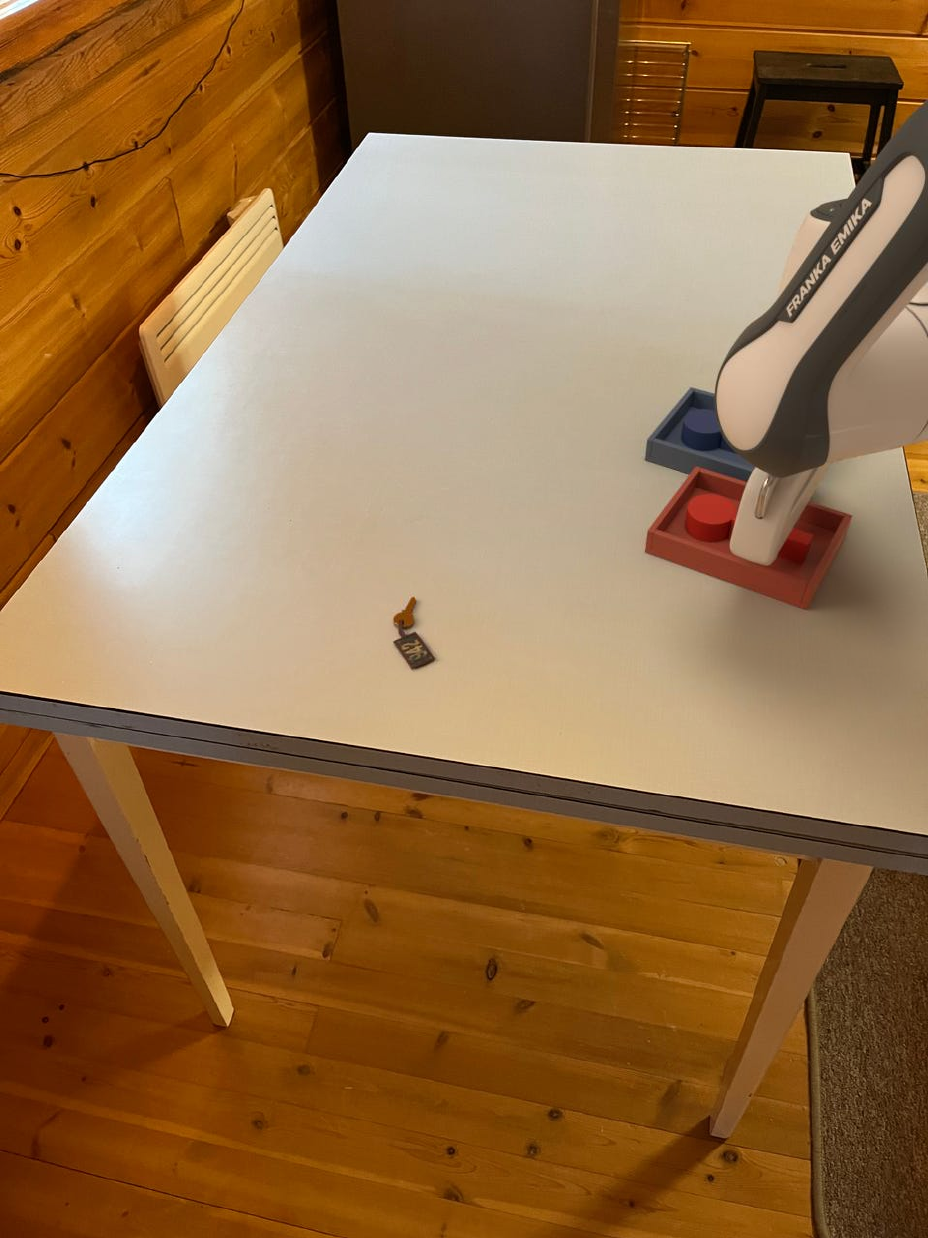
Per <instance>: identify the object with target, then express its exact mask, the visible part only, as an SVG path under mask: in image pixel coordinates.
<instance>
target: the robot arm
mask: <svg viewBox="0 0 928 1238" xmlns="http://www.w3.org/2000/svg"><path fill="white" fill-rule="evenodd" d="M714 394H715V397H714V403H715V413H716V419H717V423H718V426H719V429H720V432H721V434H722V436H723V438H724V440H725V441H726V443H727V444H728V445H729V446H730V447H731V448H732V449H733V450H734V451H735V452H736V453H737V454H738V455H739V456H741V457H742V458H743V459H744V460H746V461H747V462H749V463H750V464H752V465H753V466H755V469H754V470H753V472H752V474H751V476H750V478H749V480H748V482H747V485H746V487H745V490H744V493H743V496H742V499H741V502H740V506H739V509H738V513H737V517H736V520H735V524H734V528H733V532H732V536H731V540H730V550H731V552H732V553H733V554H734V555H736V556H738V557H740V558H743V559H746V560H748V561H751V562H755V563H758V564H761V565H770V564H772V562H773V561H775V560H776V558H777V556H778V555H779V553H780V551H781V548H782V546H783V544H784V542H785V541H786V539H787V537H788V536H789V534H790V532H791V531H792V529H793V528H794V527H795V525H796V524H797V522H798V521H799V519H800V516H801V514H802V512H803V510H804V509H805V507H806V505H807V503H808V502H810V500H811V498H812V497H813V495H814V494H815V491H816V490H817V488H818V487H819V485H820V483H821V481H822V480H823V479H824V476H825V475H826V473H827V471H828V469H829V467H830V466H831V465H832V463H835V462H838V461H845V460H848V459H853V458H858V457H862V456H867V455H872V454H876V453H881V452H886V451H890V450H895V449H900V448H903V447H905V446H910V445H915V444H920V443H924V442H928V99H926V100H925V101H924V102H923V103H922V104H921V105H920V106H919V107H917V109H916V110H915V111H914V112H913V113H911V115H909V117H908V118H907V119H906V120H905V121H904V122H903V123H902V124H901V125H900V127H899V128H898V129H897V130H896V131H895V133H894V134H893V135H892V136H891V138H890V139H889V140H888V141H887V143H886V144H885V145H884V147H883V148H882V149H881V151H880V152H879V153H878V154H877V156H876V157H875V159H874V160H873V162H872V163H871V164H870V165H869V167H868V168H867V170H866V171H865V172H864V174H863V175H862V177H861V178H860V180H859V181H858V183H857V184H856V185H855V187H854V188H853V190H851V192H850V194H849V196H848V197H847V198H844V199H837V200H833V201H832V200H831V201H828V202H825V203H821V204H820V205H819V206H817V207H815V208H813V209H812V210H810V211H809V212H808V213H807V214H806V216H805V217H804V219H803V220H802V221H801V224H800V226H799V228H798V230H797V232H796V234H795V237H794V239H793V242H792V244H791V247H790V250H789V253H788V256H787V259H786V262H785V266H784V269H783V273H782V276H781V280H780V284H779V288H778V292H777V295H776V300H775V301H774V303H773V304H772V305H771V306H770V307H769V309H768V310H766V311H765V312H764V313H763V314H762V315H761V316H759V317H758V318H756V319H755V320H754V321H752V322H751V323H750V324H749V325H747V326H746V327H745V329H743V331H742V332H741V333H740V334H739V336H738V337H737V338H736V339H735V341H734V342H733V344H732V345H731V346H730V348H729V350H728V352H727V354H726V355H725V358H724V359H723V362H722V363H721V366H720V368H719V370H718V374H717V377H716V381H715V387H714Z"/></svg>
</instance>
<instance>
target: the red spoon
mask: <svg viewBox="0 0 928 1238" xmlns="http://www.w3.org/2000/svg"><path fill="white" fill-rule="evenodd" d="M737 513H738V511H737ZM737 513H736V508H735V506H734V504H733V503H732V502H731V501H730V500H728V499H727V498H725V497H722V496H719V495H714V494H704V495H699V496H696V497H694V498H693V499H692V500H691V501H690V502H689V503H688V507H687V513H686V519H685V529H686V531H687V532H688V533H689V534H690V535H691V536H692V537H694V538H696V539H698V540H701V541H705V542H718V541H722V540H724V539H726V538H728V539H729V540H731V536H732V532H733V528H734V524H735V520H736V517H737ZM812 539H813V535H812V534H809V533H806V532H803V531H800V530H797V529H794V528H793V529H792V531H791V532H790V534H789V536H788V537H787V539H786V541H785V542H784V544H783V546H782V548H781V551H780V553H779V555H778V557H781V558H784V559H787V560H790V561H793V562H796V563H799V564H803V562H804V560H805V559H806V557H807V555H808V552H809V549H810V546H811V542H812Z"/></svg>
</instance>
